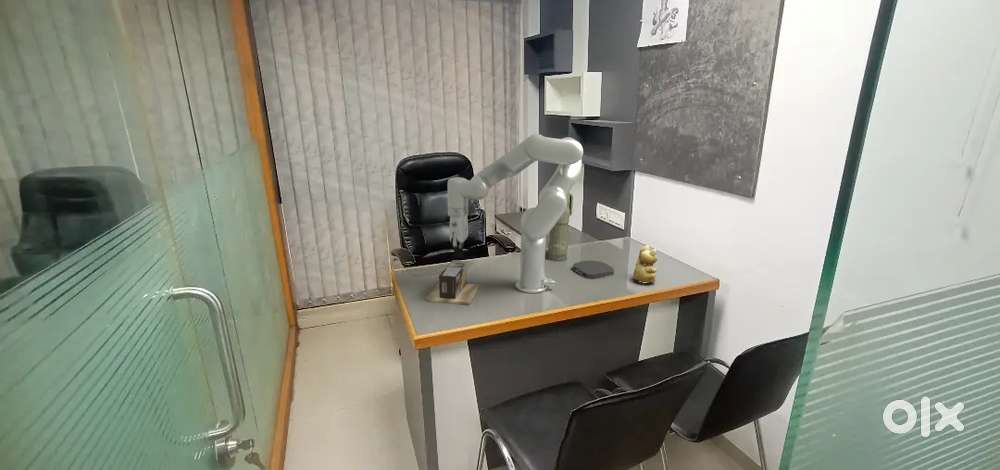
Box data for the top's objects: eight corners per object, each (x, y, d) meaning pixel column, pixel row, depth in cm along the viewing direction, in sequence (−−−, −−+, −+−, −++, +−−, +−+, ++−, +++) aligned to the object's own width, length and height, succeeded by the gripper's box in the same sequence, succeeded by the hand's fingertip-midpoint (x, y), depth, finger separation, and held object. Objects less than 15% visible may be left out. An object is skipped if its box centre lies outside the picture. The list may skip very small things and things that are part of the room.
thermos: (573, 259, 212) (578, 184, 201) (552, 263, 206) (556, 186, 196) (562, 253, 219) (566, 180, 209) (541, 256, 214) (544, 182, 203)
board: (479, 287, 179) (479, 285, 179) (469, 305, 164) (469, 302, 164) (439, 283, 182) (439, 281, 182) (426, 300, 167) (426, 298, 167)
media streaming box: (617, 275, 194) (618, 269, 193) (589, 281, 188) (589, 274, 187) (596, 264, 207) (596, 258, 206) (569, 269, 201) (569, 262, 200)
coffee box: (452, 259, 180) (438, 274, 165) (467, 260, 178) (455, 275, 163) (452, 281, 182) (439, 297, 167) (468, 282, 181) (456, 299, 166)
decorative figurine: (659, 284, 185) (663, 248, 181) (644, 288, 181) (649, 252, 177) (640, 276, 193) (644, 242, 189) (626, 279, 189) (630, 245, 185)
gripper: (462, 216, 163) (462, 264, 169) (472, 207, 177) (472, 251, 183) (442, 215, 165) (443, 263, 170) (454, 205, 179) (454, 250, 184)
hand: (458, 257), depth 176 cm, fingers closed
